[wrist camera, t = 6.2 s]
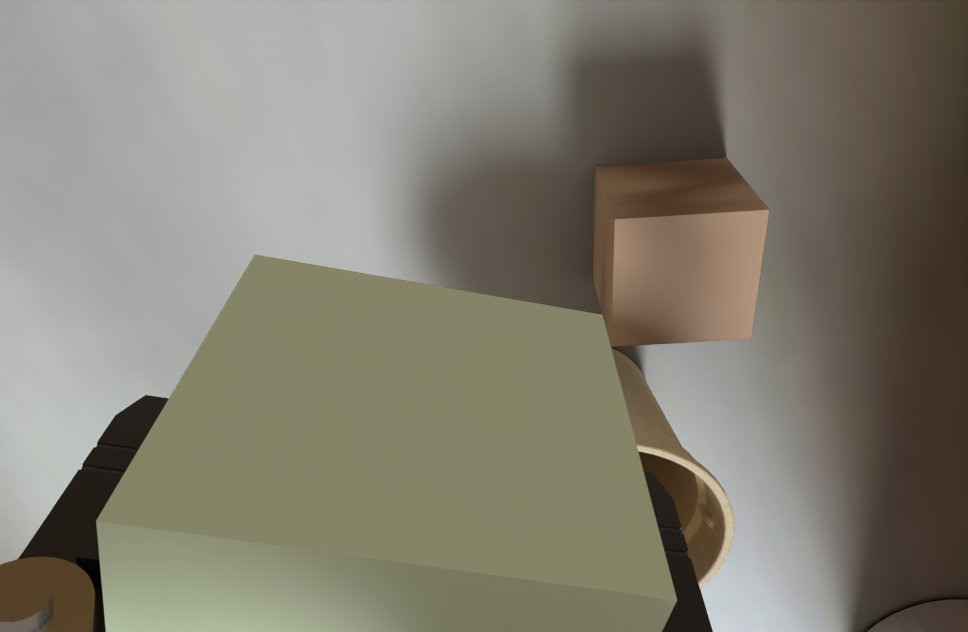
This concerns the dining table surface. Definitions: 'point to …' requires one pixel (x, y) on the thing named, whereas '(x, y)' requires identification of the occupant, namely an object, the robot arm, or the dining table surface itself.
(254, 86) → the dining table surface
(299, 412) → the sage cube
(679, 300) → the walnut cube
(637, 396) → the flower pot
